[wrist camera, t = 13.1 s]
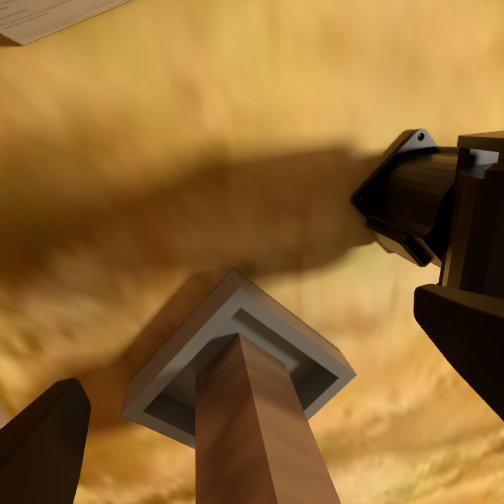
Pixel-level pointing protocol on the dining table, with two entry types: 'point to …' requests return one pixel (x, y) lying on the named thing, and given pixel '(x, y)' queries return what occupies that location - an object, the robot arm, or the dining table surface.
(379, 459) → the dining table surface
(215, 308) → the tray
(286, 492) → the block
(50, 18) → the supplement box
